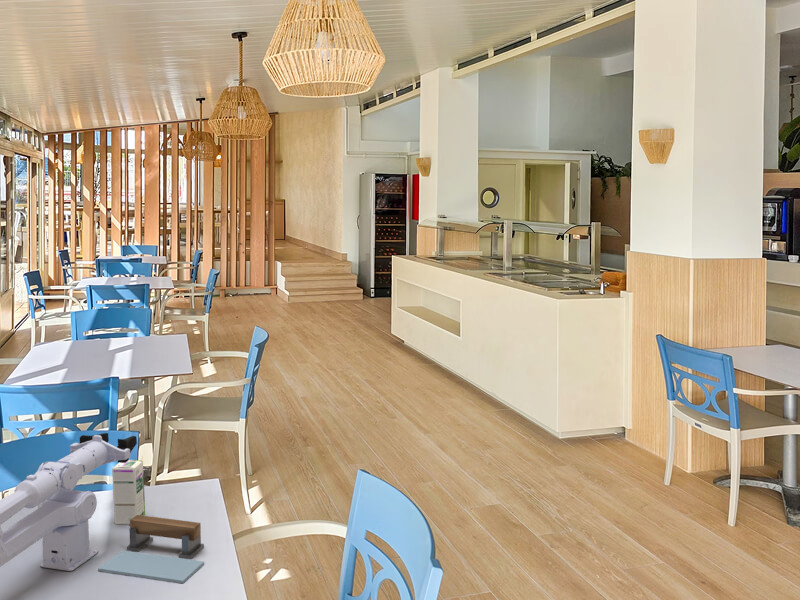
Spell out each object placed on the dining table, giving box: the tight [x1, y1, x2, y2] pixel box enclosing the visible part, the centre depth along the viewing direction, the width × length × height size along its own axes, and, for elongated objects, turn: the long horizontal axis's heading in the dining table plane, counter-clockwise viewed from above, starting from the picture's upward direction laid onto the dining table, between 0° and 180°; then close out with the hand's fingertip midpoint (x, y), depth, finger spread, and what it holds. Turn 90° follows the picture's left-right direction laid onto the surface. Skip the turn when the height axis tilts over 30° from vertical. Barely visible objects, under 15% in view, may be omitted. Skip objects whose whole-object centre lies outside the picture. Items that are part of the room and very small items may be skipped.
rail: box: [129, 515, 202, 541], centre depth 174 cm, size 3×16×3 cm, turn 76°
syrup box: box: [111, 459, 146, 525], centre depth 190 cm, size 6×6×14 cm
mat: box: [97, 550, 205, 584], centre depth 166 cm, size 9×20×1 cm, turn 76°
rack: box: [126, 527, 205, 560], centre depth 175 cm, size 6×16×5 cm, turn 76°
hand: (121, 438), depth 185 cm, fingers open, 7 cm apart
